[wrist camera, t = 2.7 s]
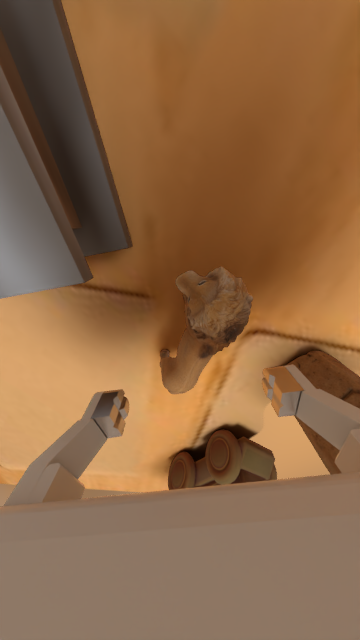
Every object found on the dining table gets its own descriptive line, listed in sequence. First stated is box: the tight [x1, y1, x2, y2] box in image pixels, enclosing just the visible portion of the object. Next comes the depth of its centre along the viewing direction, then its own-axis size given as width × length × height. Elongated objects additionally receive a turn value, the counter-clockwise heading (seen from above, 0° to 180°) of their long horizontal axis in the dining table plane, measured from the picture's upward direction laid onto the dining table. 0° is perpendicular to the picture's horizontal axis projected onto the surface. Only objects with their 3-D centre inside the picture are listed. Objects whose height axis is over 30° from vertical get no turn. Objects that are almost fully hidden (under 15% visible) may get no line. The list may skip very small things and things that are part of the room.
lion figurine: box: [160, 266, 253, 394], centre depth 14 cm, size 15×5×9 cm, turn 168°
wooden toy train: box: [168, 429, 277, 490], centre depth 25 cm, size 20×11×17 cm, turn 141°
